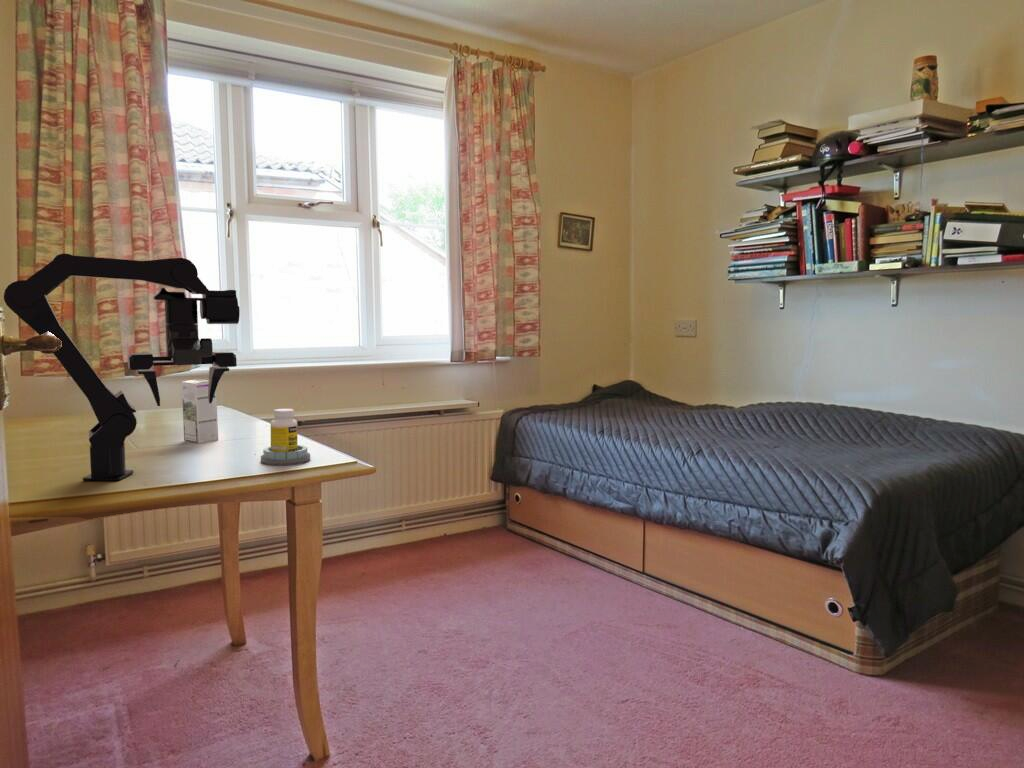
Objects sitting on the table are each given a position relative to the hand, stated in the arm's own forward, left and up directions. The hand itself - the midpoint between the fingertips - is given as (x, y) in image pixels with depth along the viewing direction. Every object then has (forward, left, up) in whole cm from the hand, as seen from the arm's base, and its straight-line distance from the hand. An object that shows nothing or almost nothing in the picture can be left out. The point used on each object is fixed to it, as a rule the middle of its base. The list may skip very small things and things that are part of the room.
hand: (184, 404), depth 139 cm
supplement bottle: (+9, -17, -12) cm, 23 cm away
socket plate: (+9, -17, -13) cm, 23 cm away
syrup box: (+31, +8, -13) cm, 35 cm away
